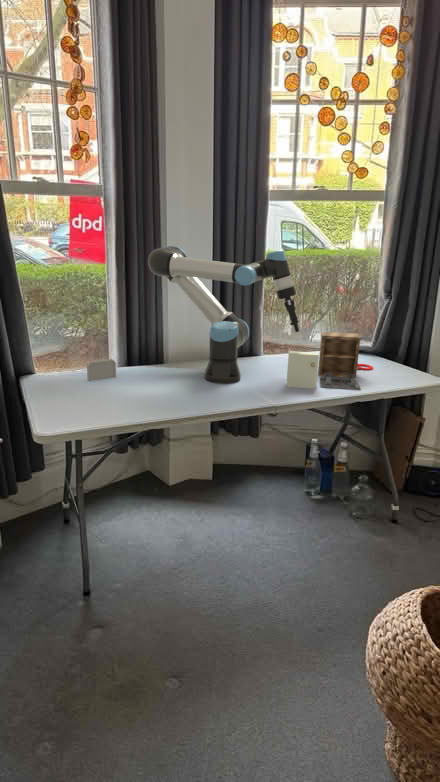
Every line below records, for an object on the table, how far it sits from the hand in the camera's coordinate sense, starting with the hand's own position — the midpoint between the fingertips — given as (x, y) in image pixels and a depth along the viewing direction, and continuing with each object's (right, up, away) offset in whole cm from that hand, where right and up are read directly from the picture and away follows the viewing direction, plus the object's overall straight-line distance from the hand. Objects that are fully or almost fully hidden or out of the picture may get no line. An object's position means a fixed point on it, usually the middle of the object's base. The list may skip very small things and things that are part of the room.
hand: (298, 337), depth 239 cm
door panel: (0, -21, -4) cm, 21 cm away
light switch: (-82, -18, -3) cm, 84 cm away
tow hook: (+33, -12, +26) cm, 44 cm away
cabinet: (+19, -15, +14) cm, 28 cm away
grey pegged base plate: (+17, -20, -1) cm, 26 cm away
